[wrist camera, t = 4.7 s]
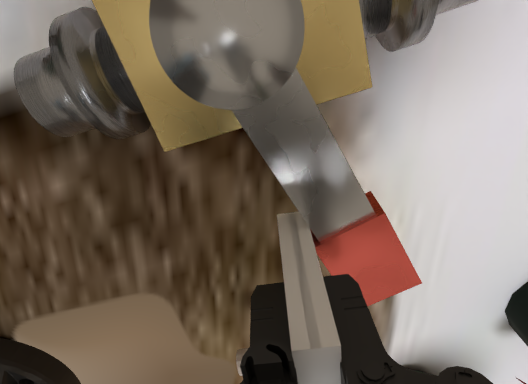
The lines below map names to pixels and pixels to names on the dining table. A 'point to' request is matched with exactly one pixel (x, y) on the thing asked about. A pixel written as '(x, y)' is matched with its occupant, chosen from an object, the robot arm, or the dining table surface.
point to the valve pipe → (167, 93)
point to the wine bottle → (519, 313)
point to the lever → (282, 125)
